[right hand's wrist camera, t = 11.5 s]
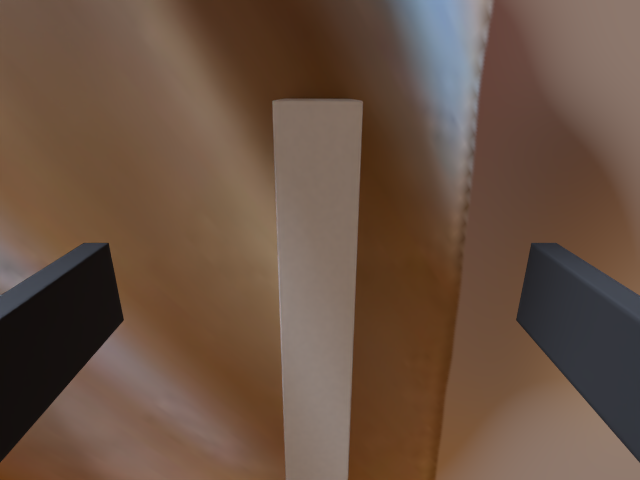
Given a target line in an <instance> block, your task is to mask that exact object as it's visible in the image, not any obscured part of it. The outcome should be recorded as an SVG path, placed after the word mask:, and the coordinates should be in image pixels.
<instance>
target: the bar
mask: <svg viewBox="0 0 640 480" xmlns="http://www.w3.org/2000/svg"><path fill="white" fill-rule="evenodd" d="M272 109H273V136H274V164H275V192H276V220H277V248H278V276H279V304H280V332H281V360H282V388H283V416H284V443H285V471H286V480H348V468H349V443H350V418H351V393H352V367H353V342H354V317H355V292H356V266H357V241H358V216H359V191H360V165H361V140H362V115H363V101H360V100H355V99H279V100H273V101H272Z"/></svg>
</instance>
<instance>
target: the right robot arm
mask: <svg viewBox="0 0 640 480" xmlns="http://www.w3.org/2000/svg"><path fill="white" fill-rule="evenodd" d="M123 320H124V319H123V314H122V308H121V303H120V298H119V293H118V288H117V283H116V278H115V273H114V268H113V263H112V258H111V253H110V248H109V243H83V244H81V245H80V246H78V247H77V248H75V249H74V250H72V251H70V252H69V253H67V254H66V255H64V256H62V257H61V258H59V259H58V260H56V261H55V262H53V263H51V264H50V265H48V266H47V267H45V268H43V269H42V270H40V271H39V272H37V273H35V274H34V275H32V276H31V277H29V278H28V279H26V280H24V281H23V282H21V283H20V284H18V285H16V286H15V287H13V288H12V289H10V290H9V291H7V292H5V293H4V294H2V295H1V296H0V462H1V461H2V460H3V459H4V458H5V456H6V455H7V454H8V453H9V452H10V451H11V450H12V448H13V447H14V446H15V445H16V444H17V443H18V441H19V440H20V439H21V438H22V437H23V436H24V435H25V433H26V432H27V431H28V430H29V429H30V428H31V427H32V425H33V424H34V423H35V422H36V421H37V420H38V418H39V417H40V416H41V415H42V414H43V413H44V412H45V410H46V409H47V408H48V407H49V406H50V405H51V403H52V402H53V401H54V400H55V399H56V398H57V397H58V395H59V394H60V393H61V392H62V391H63V390H64V388H65V387H66V386H67V385H68V384H69V383H70V382H71V380H72V379H73V378H74V377H75V376H76V375H77V373H78V372H79V371H80V370H81V369H82V368H83V367H84V365H85V364H86V363H87V362H88V361H89V360H90V358H91V357H92V356H93V355H94V354H95V353H96V352H97V350H98V349H99V348H100V347H101V346H102V345H103V343H104V342H105V341H106V340H107V339H108V338H109V337H110V335H111V334H112V333H113V332H114V331H115V330H116V329H117V327H118V326H119V325H120V324H121V323H122V322H123ZM516 320H517V322H518V323H519V324H520V325H521V326H522V327H523V329H524V330H525V331H526V332H527V333H528V334H529V335H530V337H531V338H532V339H533V340H534V341H535V342H536V343H537V345H538V346H539V347H540V348H541V349H542V350H543V352H544V353H545V354H546V355H547V356H548V357H549V358H550V360H551V361H552V362H553V363H554V364H555V365H556V367H557V368H558V369H559V370H560V371H561V372H562V373H563V375H564V376H565V377H566V378H567V379H568V380H569V382H570V383H571V384H572V385H573V386H574V387H575V388H576V390H577V391H578V392H579V393H580V394H581V395H582V397H583V398H584V399H585V400H586V401H587V402H588V403H589V405H590V406H591V407H592V408H593V409H594V410H595V412H596V413H597V414H598V415H599V416H600V417H601V418H602V420H603V421H604V422H605V423H606V424H607V425H608V427H609V428H610V429H611V430H612V431H613V432H614V433H615V435H616V436H617V437H618V438H619V439H620V440H621V441H622V443H623V444H624V445H625V446H626V447H627V448H628V450H629V451H630V452H631V453H632V454H633V455H634V456H635V458H636V459H637V460H638V461H639V462H640V296H639V295H638V294H636V293H635V292H633V291H631V290H630V289H628V288H627V287H625V286H624V285H622V284H620V283H619V282H617V281H616V280H614V279H612V278H611V277H609V276H608V275H606V274H604V273H603V272H601V271H600V270H598V269H596V268H595V267H593V266H592V265H590V264H589V263H587V262H585V261H584V260H582V259H581V258H579V257H578V256H576V255H574V254H573V253H571V252H570V251H568V250H566V249H565V248H563V247H562V246H560V245H559V244H557V243H531V248H530V253H529V258H528V263H527V268H526V273H525V278H524V283H523V288H522V293H521V298H520V303H519V308H518V314H517V319H516Z"/></svg>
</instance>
